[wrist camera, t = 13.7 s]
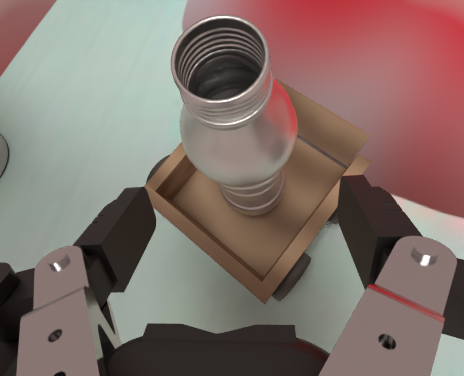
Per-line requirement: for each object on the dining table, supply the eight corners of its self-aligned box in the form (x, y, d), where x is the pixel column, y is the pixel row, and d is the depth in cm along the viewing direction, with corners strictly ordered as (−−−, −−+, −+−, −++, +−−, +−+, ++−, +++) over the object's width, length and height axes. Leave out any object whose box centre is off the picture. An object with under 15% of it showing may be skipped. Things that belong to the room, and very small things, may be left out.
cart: (260, 73, 34) (258, 36, 28) (387, 149, 29) (415, 124, 24) (155, 199, 32) (129, 186, 26) (274, 300, 27) (275, 313, 22)
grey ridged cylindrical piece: (267, 148, 30) (261, -47, 10) (295, 203, 28) (351, 93, 9) (214, 172, 30) (110, 26, 11) (238, 229, 28) (166, 178, 9)
